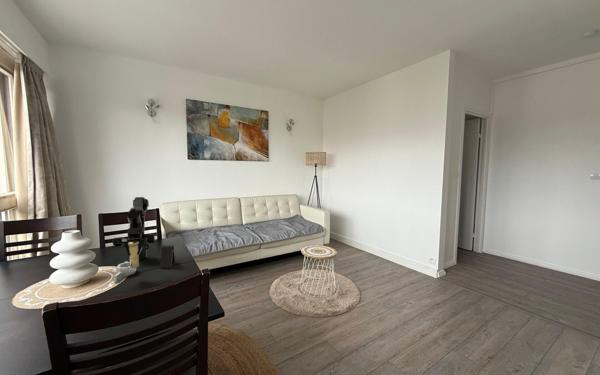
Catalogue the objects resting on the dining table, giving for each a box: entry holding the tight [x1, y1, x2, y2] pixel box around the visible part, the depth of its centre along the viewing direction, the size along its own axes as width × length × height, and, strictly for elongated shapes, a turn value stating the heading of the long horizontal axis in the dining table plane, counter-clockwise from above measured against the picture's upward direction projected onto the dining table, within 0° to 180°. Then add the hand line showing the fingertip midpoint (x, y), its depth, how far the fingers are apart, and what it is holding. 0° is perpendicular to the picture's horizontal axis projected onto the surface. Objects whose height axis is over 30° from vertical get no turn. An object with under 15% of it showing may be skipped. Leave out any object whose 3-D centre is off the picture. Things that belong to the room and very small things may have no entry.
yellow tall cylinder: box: [128, 241, 140, 268], centre depth 130 cm, size 5×5×13 cm
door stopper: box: [159, 244, 177, 269], centre depth 148 cm, size 9×6×12 cm, turn 8°
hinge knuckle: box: [113, 260, 137, 283], centre depth 137 cm, size 20×8×4 cm, turn 21°
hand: (133, 255), depth 128 cm, fingers closed on yellow tall cylinder, 4 cm apart
